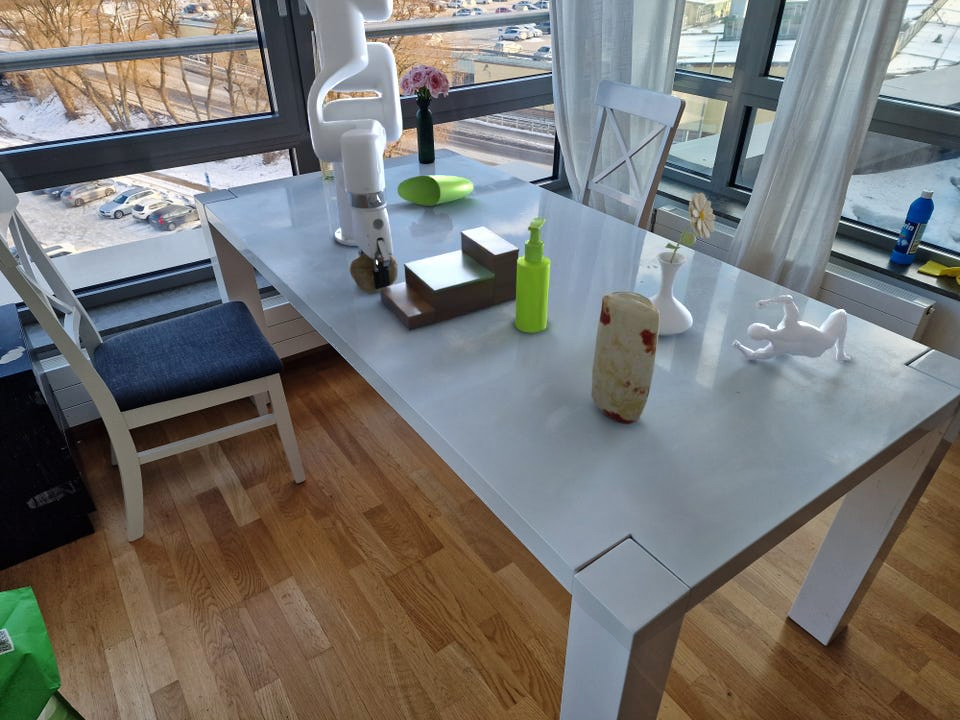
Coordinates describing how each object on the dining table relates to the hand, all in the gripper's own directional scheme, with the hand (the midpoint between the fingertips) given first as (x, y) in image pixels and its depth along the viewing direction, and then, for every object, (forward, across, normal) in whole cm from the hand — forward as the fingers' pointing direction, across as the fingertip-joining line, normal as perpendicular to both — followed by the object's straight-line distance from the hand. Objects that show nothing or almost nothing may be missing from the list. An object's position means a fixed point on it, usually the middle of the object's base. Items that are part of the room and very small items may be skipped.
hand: (375, 279), depth 132 cm
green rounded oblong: (+2, +38, -35) cm, 51 cm away
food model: (+1, -59, -15) cm, 61 cm away
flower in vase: (+1, -43, -40) cm, 59 cm away
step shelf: (+1, -14, -10) cm, 17 cm away
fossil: (+1, 0, 0) cm, 1 cm away
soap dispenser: (+1, -30, -19) cm, 36 cm away
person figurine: (+1, -63, -50) cm, 81 cm away
